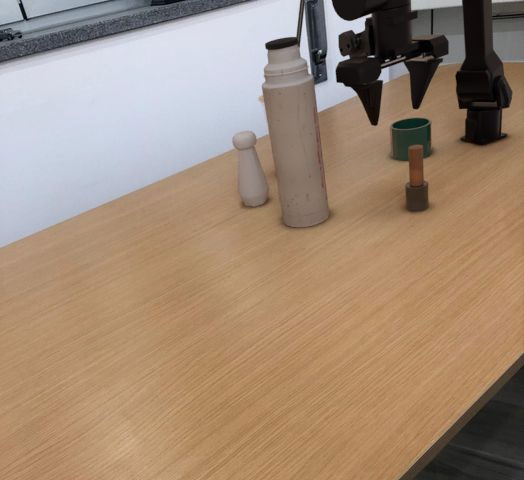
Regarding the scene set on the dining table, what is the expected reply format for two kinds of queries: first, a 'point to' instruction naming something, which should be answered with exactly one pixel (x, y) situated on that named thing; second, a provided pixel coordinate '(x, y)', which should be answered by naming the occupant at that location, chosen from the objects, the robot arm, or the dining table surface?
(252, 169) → the salt shaker
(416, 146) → the wooden peg on base
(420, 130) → the enamel cup
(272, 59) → the thermos bottle
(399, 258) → the dining table surface
